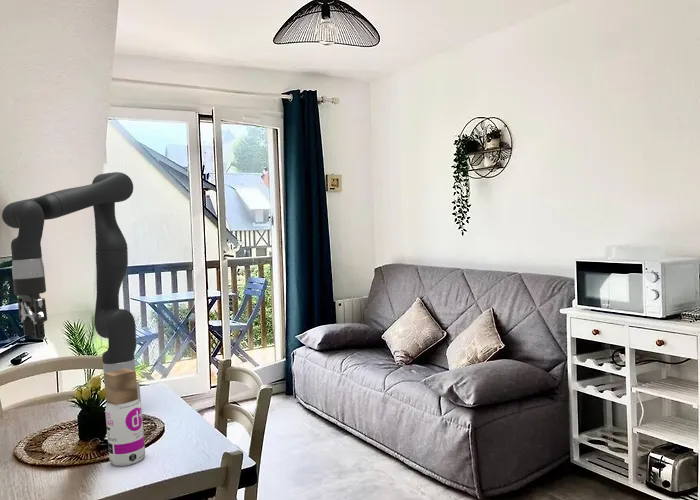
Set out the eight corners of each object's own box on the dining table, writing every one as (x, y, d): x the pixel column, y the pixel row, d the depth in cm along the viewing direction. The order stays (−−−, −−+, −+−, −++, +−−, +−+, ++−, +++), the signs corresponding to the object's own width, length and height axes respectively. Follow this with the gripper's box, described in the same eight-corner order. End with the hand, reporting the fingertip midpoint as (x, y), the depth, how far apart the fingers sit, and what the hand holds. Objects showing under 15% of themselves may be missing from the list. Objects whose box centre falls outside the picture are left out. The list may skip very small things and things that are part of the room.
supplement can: (152, 455, 149) (147, 396, 149) (127, 468, 142) (122, 406, 141) (128, 452, 153) (123, 394, 152) (102, 465, 145) (97, 404, 145)
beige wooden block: (128, 395, 150) (125, 368, 150) (137, 399, 146) (135, 370, 146) (106, 401, 147) (103, 373, 146) (115, 405, 143) (113, 376, 142)
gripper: (53, 275, 157) (59, 336, 158) (34, 274, 167) (40, 332, 167) (22, 278, 151) (28, 341, 152) (4, 277, 161) (10, 337, 162)
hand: (34, 336), depth 160 cm, fingers open, 8 cm apart
